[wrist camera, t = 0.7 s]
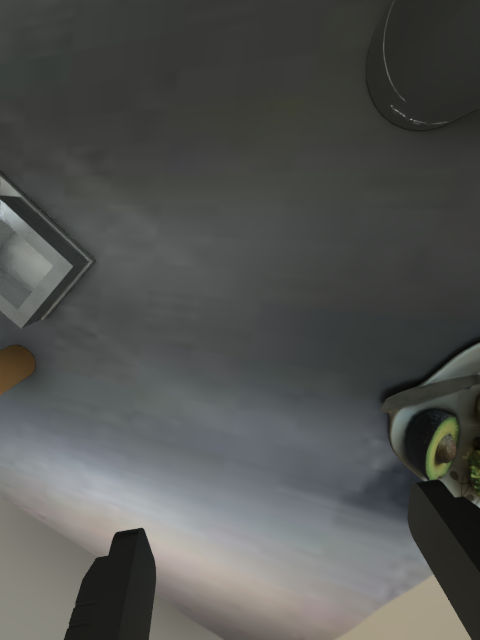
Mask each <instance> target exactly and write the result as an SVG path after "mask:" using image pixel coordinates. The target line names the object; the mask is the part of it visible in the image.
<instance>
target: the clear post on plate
mask: <svg viewBox="0 0 480 640" xmlns="http://www.w3.org/2000/svg"><path fill="white" fill-rule="evenodd" d="M94 262H95V260H94V259H93V258H92V257H91V256H90V255H89V254H88V253H87V252H86V251H85V250H84V249H82V248H81V247H80V246H79V245H78V244H77V243H76V242H75V241H74V240H73V239H72V238H71V237H70V236H69V235H67V234H66V233H65V232H64V231H63V230H62V229H61V228H60V227H59V226H58V225H57V224H56V223H55V222H54V221H52V220H51V219H50V218H49V217H48V216H47V215H46V214H45V213H44V212H43V211H42V210H41V209H40V208H39V207H37V206H36V205H35V204H34V203H33V202H32V201H31V200H30V199H29V198H28V197H27V196H26V195H25V194H24V193H22V192H21V191H20V190H19V189H18V188H17V187H16V186H15V185H14V184H13V183H12V182H11V181H10V180H9V179H7V178H6V177H5V176H4V175H3V174H2V173H1V172H0V311H1V312H3V313H4V314H5V315H6V316H7V317H8V318H10V319H11V320H12V321H13V322H14V323H15V324H17V325H18V326H19V327H20V328H23V327H26V326H28V325H30V324H32V323H34V322H36V321H39V320H41V319H42V320H44V319H46V318H47V317H48V316H49V315H50V314H51V313H52V311H53V310H54V309H55V308H56V307H57V306H58V304H59V303H60V302H61V301H62V300H63V299H64V297H65V296H66V295H67V294H68V293H69V291H70V290H71V289H72V288H73V287H74V286H75V284H76V283H77V282H78V281H79V280H80V279H81V277H82V276H83V275H84V274H85V273H86V272H87V270H88V269H89V268H90V267H91V266H92V265H93V263H94Z"/></svg>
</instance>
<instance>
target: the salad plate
mask: <svg viewBox="0 0 480 640" xmlns="http://www.w3.org/2000/svg"><path fill="white" fill-rule="evenodd" d="M468 387H471V389H469V390H465V389H466V388H468ZM380 410H382V411H383V412H385V413H386V412H388V413H389V416H390V419H389V440H390V445H391V447H392V449H393V451H394V453H395V454H396V455H397V457H398V458H399V459H400V460H401V461H402V462H403V463H404V464H405V465H406V466H407V467H408V468H409V469H410V470H411V471H412V472H414V473H415V474H416V475H417V476H418V477H419V478H420V479H422V480H423V481H429V480H435V479H438V480H440V481H442V482H443V483H444V484H445V486H446V487H447V488H448V489H449V491H450V492H451V493H452V494H453V496H454V497H461V496H464V497H466V498H467V499H468V500H470V501H471V502H472V503H474V504H475V505H477V506H478V507H479V508H480V437H477V438H476V437H475V436H478V435H480V342H479V343H477V344H475V345H473V346H471V347H469V348H468V349H466V350H464V351H462V352H461V353H459V354H458V355H456V356H455V357H454V358H452V359H451V360H450V361H449V362H448V363H446V364H445V365H444V366H443V367H442V368H440V369H439V370H438V371H436V372H435V373H434V374H433V375H432V376H430V377H429V378H428V379H427V380H425V381H424V382H422V383H421V384H420V385H418V386H416V387H413V388H410V389H407V390H404V391H402V392H400V393H397V394H395V395H393V396H391V397H389V398H387V399H386V400H385V402H384V403H383V405H382V406H381V407H380Z"/></svg>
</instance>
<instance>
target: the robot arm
mask: <svg viewBox="0 0 480 640" xmlns="http://www.w3.org/2000/svg"><path fill="white" fill-rule="evenodd" d="M366 75H367V84H368V88H369V92H370V95H371V97H372V100H373V102H374V104H375V106H376V107H377V109H378V110H379V111H380V112H381V114H382V115H383V116H384V117H385V118H387V119H388V120H389V121H390V122H392V123H393V124H395V125H397V126H400V127H402V128H404V129H410V130H416V131H420V130H431V129H434V128H438V127H441V126H444V125H446V124H448V123H450V122H452V121H454V120H456V119H458V118H460V117H462V116H464V115H466V114H468V113H470V112H472V111H474V110H476V109H479V108H480V0H393V2H392V4H391V5H390V7H389V9H388V10H387V12H386V14H385V15H384V17H383V19H382V20H381V22H380V24H379V26H378V28H377V29H376V31H375V33H374V35H373V38H372V41H371V44H370V47H369V50H368V57H367V63H366ZM408 524H409V528H410V531H411V534H412V536H413V539H414V541H415V542H416V544H417V546H418V548H419V549H420V551H421V553H422V555H423V556H424V558H425V560H426V561H427V563H428V565H429V567H430V568H431V570H432V572H433V574H434V575H435V577H436V579H437V581H438V582H439V584H440V586H441V587H442V589H443V591H444V593H445V594H446V596H447V598H448V600H449V601H450V603H451V605H452V606H453V608H454V610H455V612H456V613H457V615H458V617H459V619H460V620H461V622H462V624H463V626H464V627H465V629H466V631H467V632H468V634H469V636H470V637H471V639H472V640H480V508H479V507H478V506H477V505H475V504H474V503H472V502H471V501H470V500H468V499H467V498H466V497H464V496H461V497H454V496H453V494H452V493H451V492H450V491H449V489H448V488H447V487H446V486H445V484H444V483H443V482H442V481H440V480H438V479H435V480H429V481H423V482H417V483H412V484H411V488H410V497H409V507H408ZM155 585H156V566H155V560H154V557H153V554H152V551H151V548H150V545H149V542H148V539H147V536H146V533H145V531H144V529H143V528H138V529H132V530H126V531H120V532H116V533H115V535H114V537H113V540H112V544H111V547H110V551H109V555H108V556H104V557H98V558H96V559H95V561H94V563H93V564H92V566H91V567H90V569H89V570H88V572H87V573H86V575H85V577H84V578H83V580H82V583H81V586H80V590H79V593H78V596H77V599H76V606H75V608H74V609H73V612H72V615H71V618H70V622H69V628H68V629H67V631H66V635H65V638H64V640H149V633H150V625H151V617H152V609H153V601H154V594H155Z"/></svg>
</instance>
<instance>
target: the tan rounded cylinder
mask: <svg viewBox="0 0 480 640" xmlns="http://www.w3.org/2000/svg"><path fill="white" fill-rule="evenodd" d="M34 370H35V359H34V357H33V355H32V354H31V353H30V351H28V350H27V349H26V348H24V347H22V346H19V345H11V346H8V347H6V348H4V349H2V350H0V395H1V394H3V393H4V392H6V391H7V390H9V389H10V388H12V387H13V386H15V385H16V384H18V383H19V382H21V381H22V380H23V379H25V378H26V377H28V376H29V375H31V374H32V373H33V372H34Z"/></svg>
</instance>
